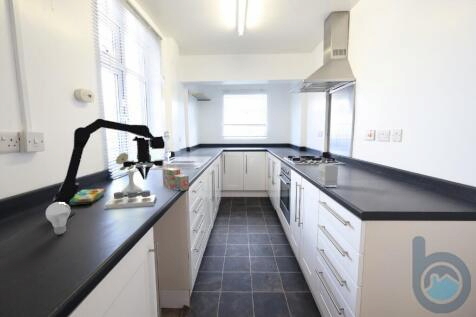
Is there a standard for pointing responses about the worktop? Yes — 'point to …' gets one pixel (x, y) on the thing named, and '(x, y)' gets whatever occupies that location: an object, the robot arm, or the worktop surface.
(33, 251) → the worktop surface
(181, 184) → the stack of blocks
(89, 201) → the puzzle game
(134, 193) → the button middle
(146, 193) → the button far
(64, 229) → the light bulb
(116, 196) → the button near
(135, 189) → the flower in vase
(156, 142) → the robot arm
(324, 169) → the supplement box
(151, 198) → the button board
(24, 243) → the worktop surface
